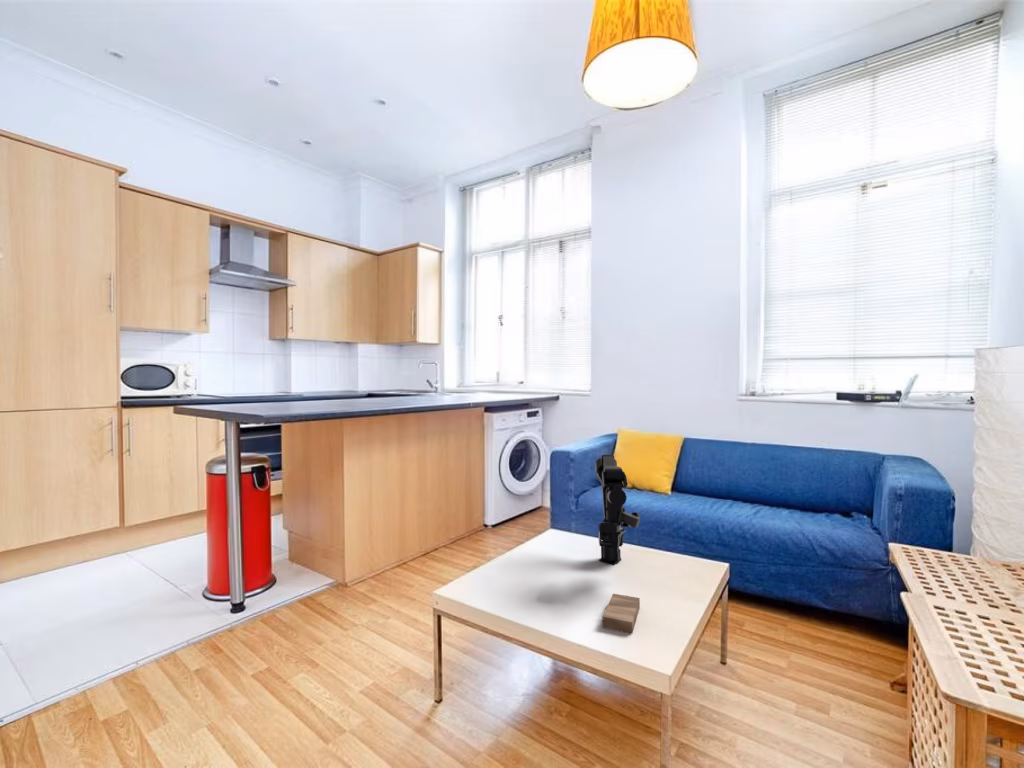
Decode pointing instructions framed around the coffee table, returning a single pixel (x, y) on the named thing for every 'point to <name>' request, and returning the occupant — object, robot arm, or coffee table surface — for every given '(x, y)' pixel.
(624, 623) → the walnut card box
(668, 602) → the coffee table surface
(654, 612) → the coffee table surface
